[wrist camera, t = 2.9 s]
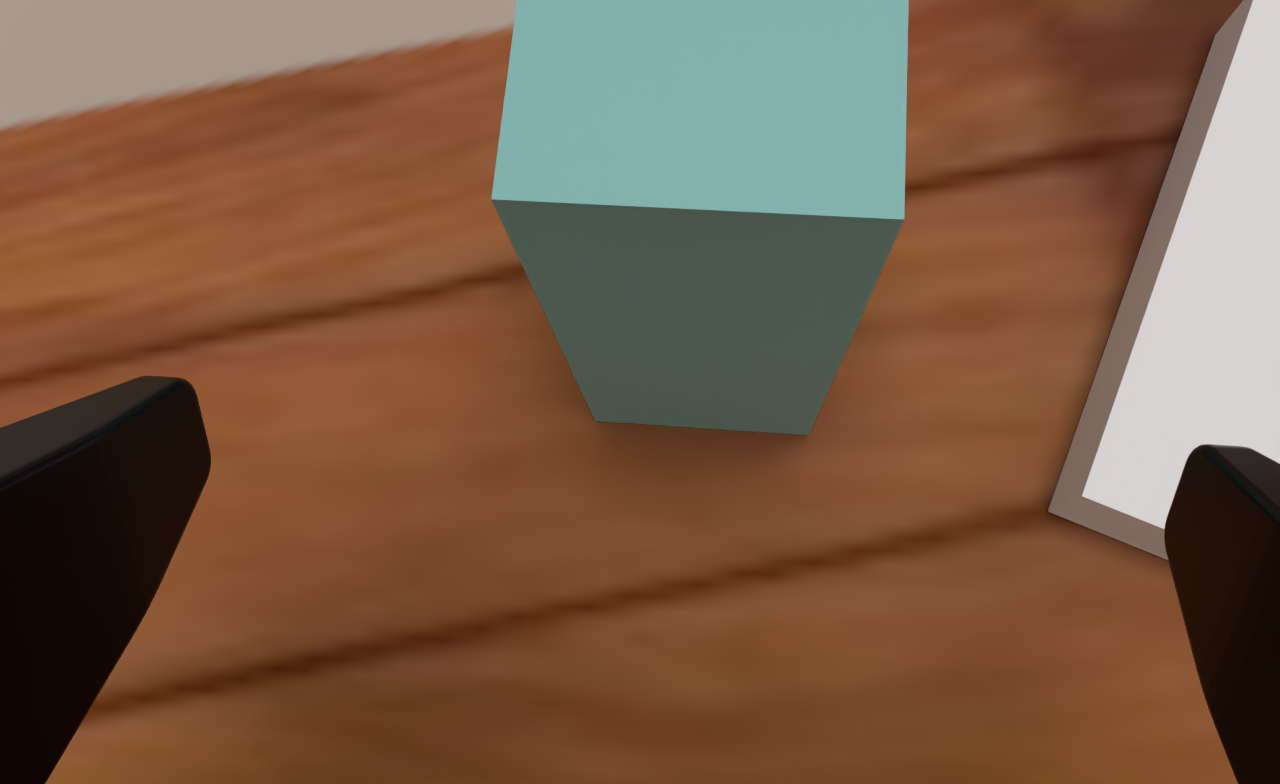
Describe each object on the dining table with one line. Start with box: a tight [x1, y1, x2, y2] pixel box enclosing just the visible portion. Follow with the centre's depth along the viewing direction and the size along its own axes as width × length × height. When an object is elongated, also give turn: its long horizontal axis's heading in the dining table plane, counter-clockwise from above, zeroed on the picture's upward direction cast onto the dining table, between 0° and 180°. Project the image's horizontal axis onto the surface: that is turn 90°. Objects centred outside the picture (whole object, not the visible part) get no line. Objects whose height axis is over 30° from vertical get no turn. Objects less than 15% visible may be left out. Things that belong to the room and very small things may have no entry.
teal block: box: [492, 0, 908, 435], centre depth 17 cm, size 5×5×11 cm
